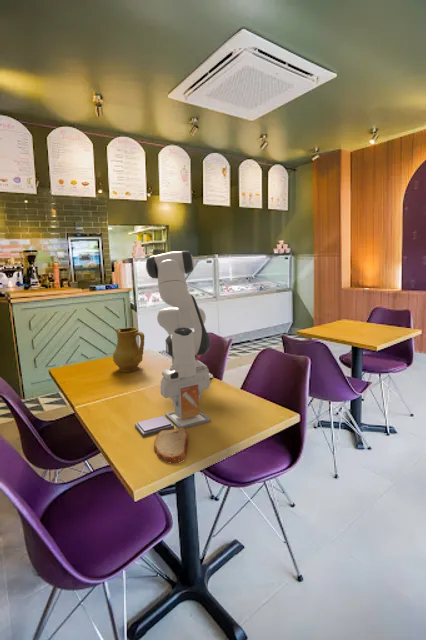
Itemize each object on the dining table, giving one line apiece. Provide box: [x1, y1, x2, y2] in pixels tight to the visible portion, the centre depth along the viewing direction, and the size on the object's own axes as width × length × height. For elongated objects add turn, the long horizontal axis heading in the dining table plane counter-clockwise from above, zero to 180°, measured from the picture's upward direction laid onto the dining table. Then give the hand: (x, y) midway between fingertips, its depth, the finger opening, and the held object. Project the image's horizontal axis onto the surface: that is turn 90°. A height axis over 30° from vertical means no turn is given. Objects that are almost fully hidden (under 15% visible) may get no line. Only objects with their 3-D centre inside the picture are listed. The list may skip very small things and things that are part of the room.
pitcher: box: [112, 326, 145, 373], centre depth 210 cm, size 17×19×25 cm
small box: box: [174, 384, 200, 420], centre depth 141 cm, size 8×6×13 cm
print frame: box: [164, 410, 212, 430], centre depth 142 cm, size 13×15×1 cm
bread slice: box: [153, 427, 189, 464], centre depth 121 cm, size 18×18×4 cm
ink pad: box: [134, 415, 175, 437], centre depth 135 cm, size 12×10×2 cm
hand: (186, 403), depth 141 cm, fingers closed on small box, 8 cm apart
